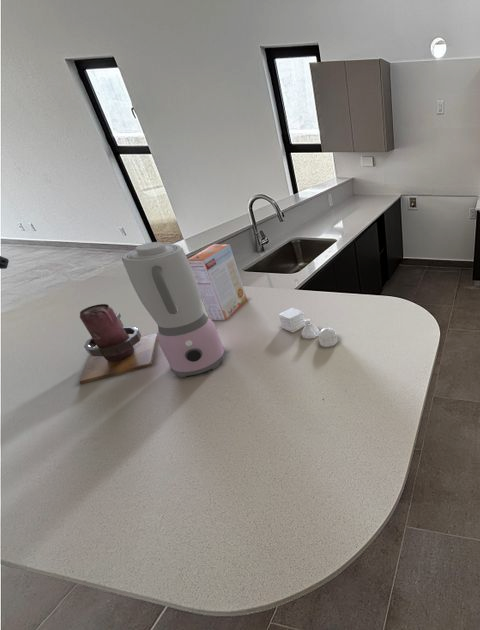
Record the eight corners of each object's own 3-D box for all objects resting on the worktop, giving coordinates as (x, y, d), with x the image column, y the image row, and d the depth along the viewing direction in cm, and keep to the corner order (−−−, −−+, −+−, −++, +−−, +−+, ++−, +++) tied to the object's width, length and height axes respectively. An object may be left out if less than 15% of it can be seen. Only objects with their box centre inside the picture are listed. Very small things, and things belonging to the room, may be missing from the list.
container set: (282, 329, 101) (278, 314, 98) (296, 322, 104) (292, 306, 102) (328, 351, 91) (325, 334, 88) (342, 342, 95) (339, 325, 92)
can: (124, 362, 85) (97, 315, 78) (99, 362, 85) (70, 315, 78) (141, 348, 90) (117, 302, 83) (118, 348, 90) (92, 303, 83)
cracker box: (231, 301, 117) (212, 243, 106) (248, 301, 117) (231, 243, 106) (208, 321, 105) (184, 259, 94) (227, 322, 104) (204, 259, 94)
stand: (82, 386, 79) (58, 352, 74) (98, 351, 91) (79, 320, 86) (152, 367, 85) (135, 335, 80) (159, 337, 97) (144, 307, 92)
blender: (173, 359, 88) (116, 242, 72) (223, 344, 94) (182, 233, 78) (174, 394, 77) (107, 265, 61) (231, 375, 83) (185, 253, 66)
